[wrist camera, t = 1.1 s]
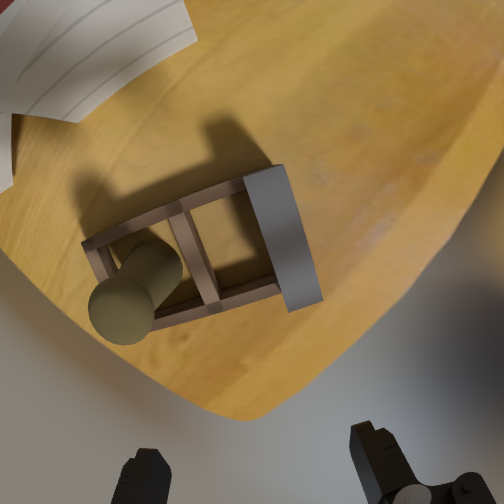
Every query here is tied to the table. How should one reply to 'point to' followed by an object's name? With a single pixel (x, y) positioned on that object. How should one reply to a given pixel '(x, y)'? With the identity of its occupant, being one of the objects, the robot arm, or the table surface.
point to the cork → (135, 293)
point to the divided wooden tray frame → (212, 298)
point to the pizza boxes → (78, 55)
